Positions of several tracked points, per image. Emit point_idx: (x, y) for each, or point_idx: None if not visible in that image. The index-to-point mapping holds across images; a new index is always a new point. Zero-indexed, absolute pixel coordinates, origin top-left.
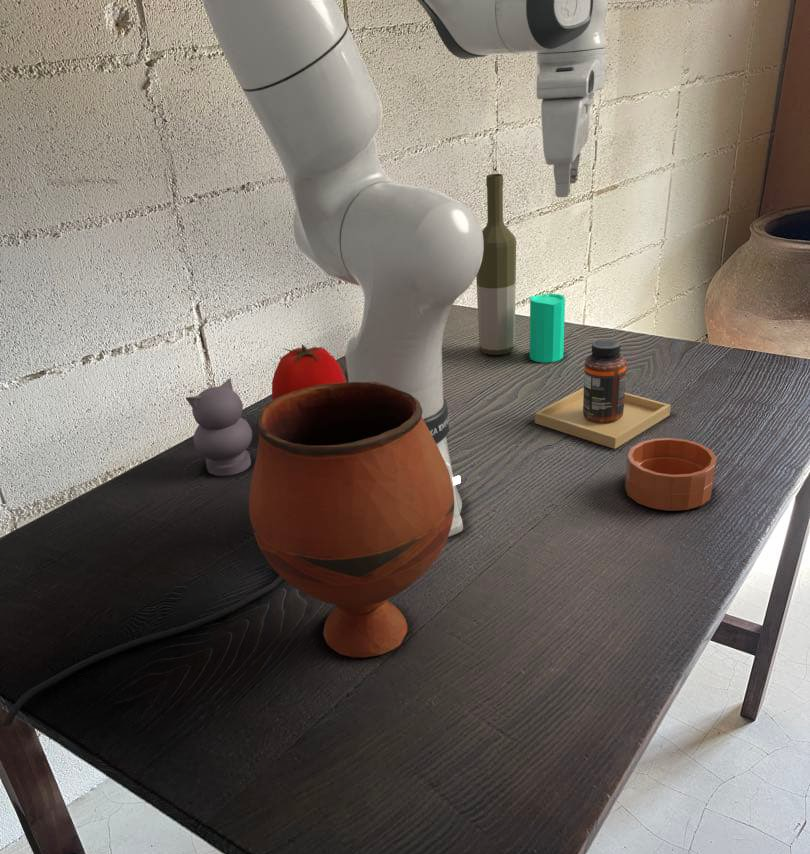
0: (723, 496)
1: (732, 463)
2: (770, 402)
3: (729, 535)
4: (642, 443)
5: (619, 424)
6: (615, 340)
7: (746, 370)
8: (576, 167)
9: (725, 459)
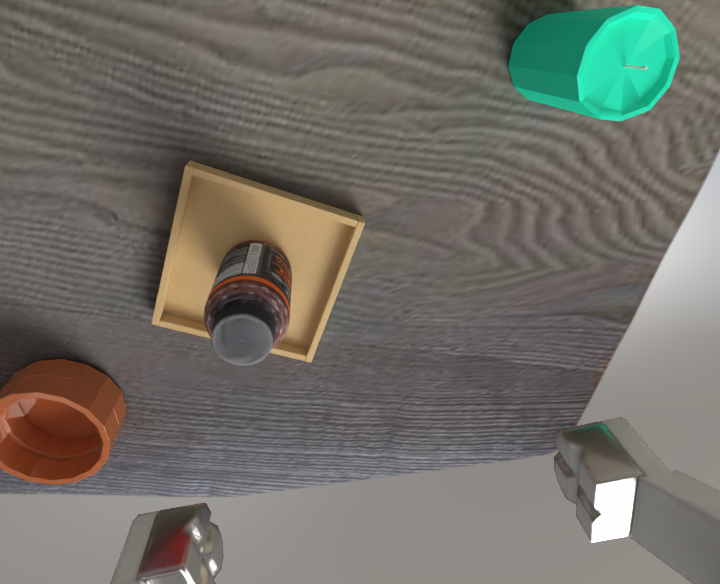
0: None
1: (190, 444)
2: (397, 447)
3: None
4: (61, 401)
5: None
6: (264, 352)
7: (511, 404)
8: (640, 538)
9: (198, 436)
